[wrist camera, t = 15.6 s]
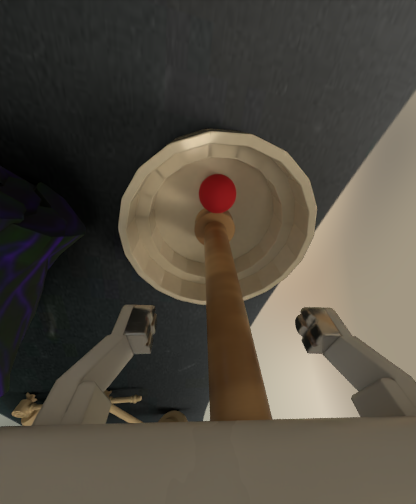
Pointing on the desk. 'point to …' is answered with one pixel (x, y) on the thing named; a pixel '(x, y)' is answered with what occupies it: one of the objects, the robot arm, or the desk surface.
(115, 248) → the desk surface
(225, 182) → the berry
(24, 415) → the desk lamp
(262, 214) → the bowl
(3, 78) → the desk surface
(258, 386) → the wooden pestle
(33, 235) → the decorative plant
